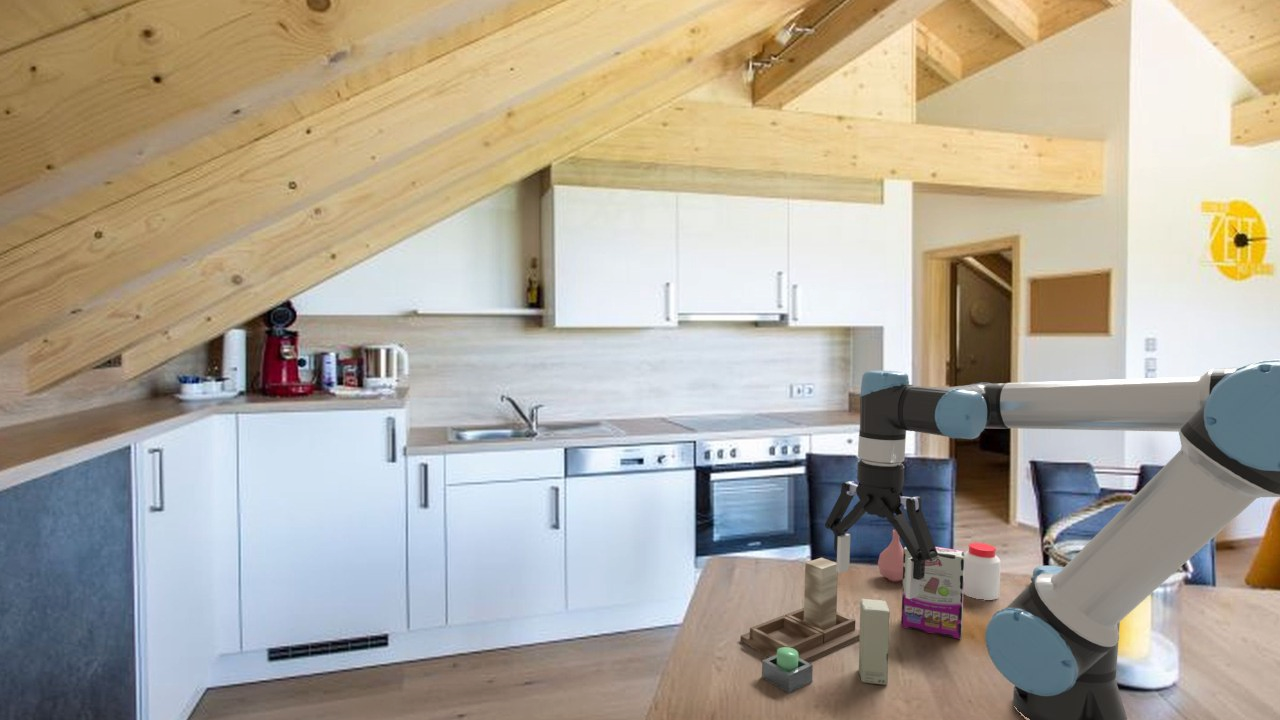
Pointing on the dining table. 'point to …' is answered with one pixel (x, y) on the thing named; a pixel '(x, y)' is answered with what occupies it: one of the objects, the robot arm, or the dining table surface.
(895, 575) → the perfume bottle
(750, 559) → the dining table surface
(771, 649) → the tray
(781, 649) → the button
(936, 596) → the candy bar box
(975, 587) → the pill bottle
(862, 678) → the box
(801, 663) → the grey square tray
